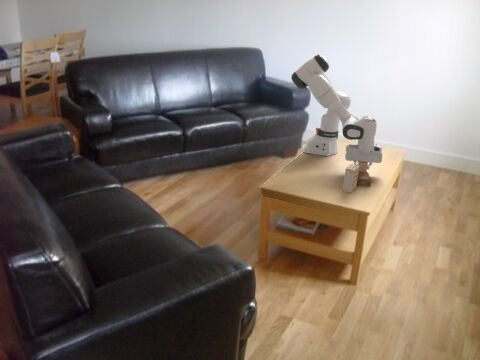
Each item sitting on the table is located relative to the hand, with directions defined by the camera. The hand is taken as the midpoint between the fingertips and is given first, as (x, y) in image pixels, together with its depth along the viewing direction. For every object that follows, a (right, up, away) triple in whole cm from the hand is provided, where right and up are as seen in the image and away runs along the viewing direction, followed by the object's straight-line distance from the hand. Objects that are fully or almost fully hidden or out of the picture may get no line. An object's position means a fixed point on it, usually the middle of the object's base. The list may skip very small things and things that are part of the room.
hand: (361, 168), depth 276 cm
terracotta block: (0, -2, +1) cm, 3 cm away
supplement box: (-12, -12, -21) cm, 27 cm away
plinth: (-5, -7, -10) cm, 14 cm away
